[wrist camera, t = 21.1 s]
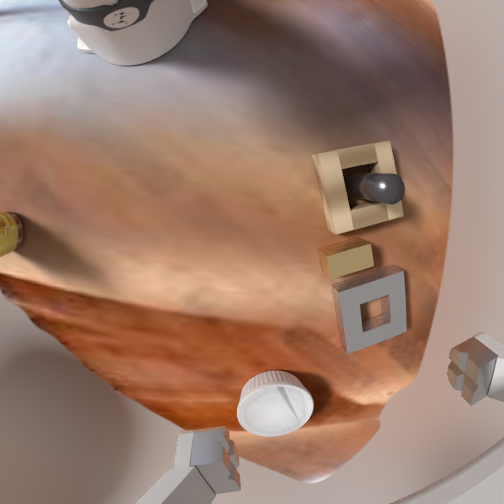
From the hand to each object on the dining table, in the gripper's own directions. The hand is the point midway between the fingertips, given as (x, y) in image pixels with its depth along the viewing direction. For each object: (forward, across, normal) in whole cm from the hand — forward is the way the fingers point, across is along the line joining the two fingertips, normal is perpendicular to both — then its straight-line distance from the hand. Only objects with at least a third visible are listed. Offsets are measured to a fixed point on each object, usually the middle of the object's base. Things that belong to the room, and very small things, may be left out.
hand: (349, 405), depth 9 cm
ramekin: (+32, +4, +25) cm, 40 cm away
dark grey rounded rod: (+31, -14, -3) cm, 34 cm away
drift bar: (+31, -10, +5) cm, 33 cm away
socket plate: (+31, -13, +14) cm, 37 cm away
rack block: (+31, -14, -3) cm, 34 cm away
